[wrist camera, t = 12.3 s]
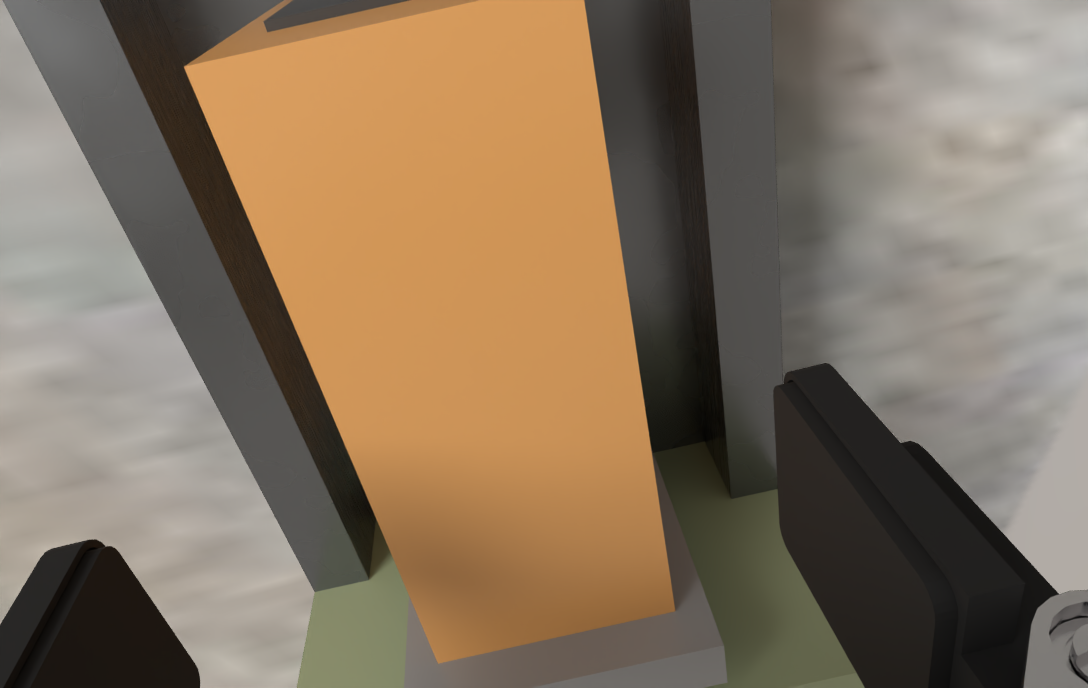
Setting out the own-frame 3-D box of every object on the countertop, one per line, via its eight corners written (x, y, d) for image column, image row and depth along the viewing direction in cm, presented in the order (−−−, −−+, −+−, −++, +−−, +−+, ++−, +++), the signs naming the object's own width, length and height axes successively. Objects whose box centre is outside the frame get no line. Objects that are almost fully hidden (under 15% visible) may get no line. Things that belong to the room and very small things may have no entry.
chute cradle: (747, 482, 25) (881, 745, 17) (362, 568, 25) (324, 869, 17) (685, -433, 13) (1006, -868, 6) (-28, -268, 13) (-656, -479, 6)
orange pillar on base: (641, 438, 22) (727, 682, 15) (427, 485, 22) (419, 750, 15) (560, -72, 15) (654, -43, 8) (250, -2, 15) (88, 84, 8)
